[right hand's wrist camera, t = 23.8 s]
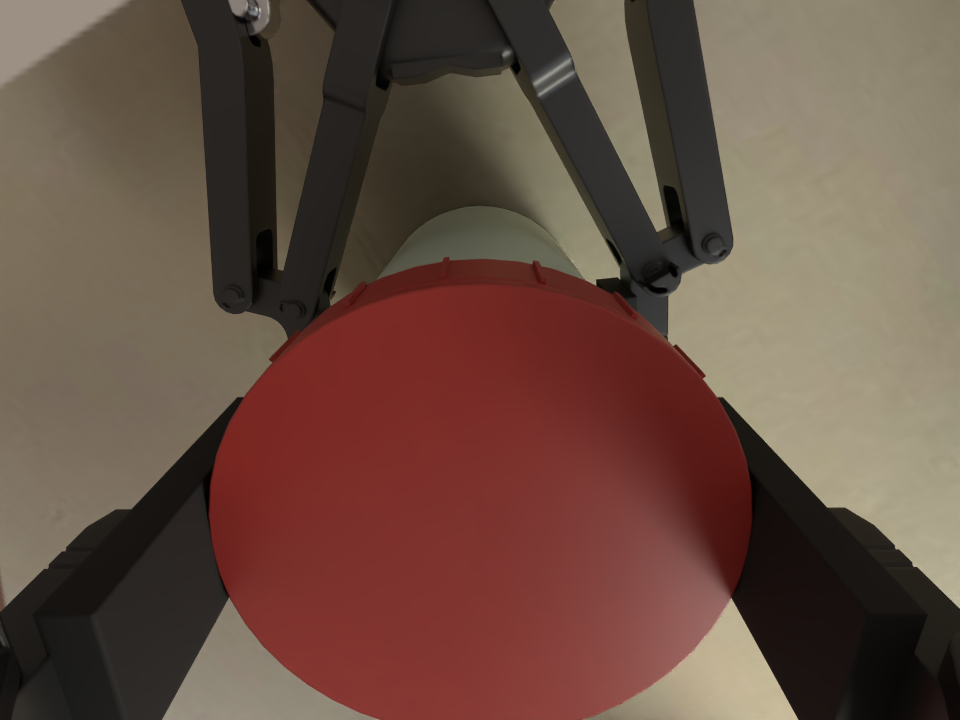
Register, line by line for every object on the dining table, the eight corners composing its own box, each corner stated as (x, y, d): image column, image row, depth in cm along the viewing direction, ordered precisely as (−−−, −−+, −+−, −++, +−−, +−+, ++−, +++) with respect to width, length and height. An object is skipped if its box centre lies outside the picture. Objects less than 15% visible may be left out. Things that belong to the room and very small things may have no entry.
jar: (365, 222, 25) (195, 343, 10) (566, 190, 24) (700, 268, 9) (405, 403, 28) (319, 700, 13) (584, 378, 27) (706, 657, 12)
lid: (381, 146, 10) (356, 148, 8) (814, 412, 12) (879, 464, 10) (179, 549, 13) (127, 619, 11) (548, 711, 15) (558, 795, 13)
